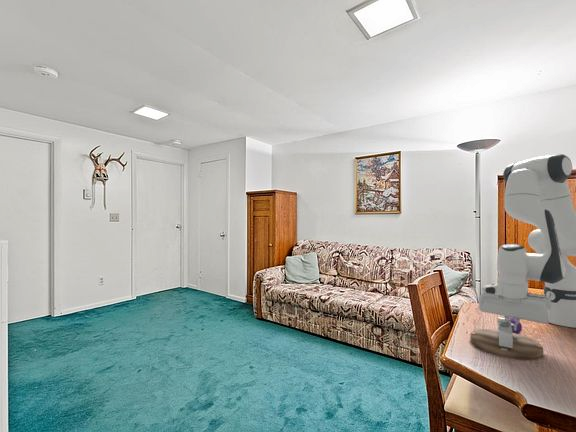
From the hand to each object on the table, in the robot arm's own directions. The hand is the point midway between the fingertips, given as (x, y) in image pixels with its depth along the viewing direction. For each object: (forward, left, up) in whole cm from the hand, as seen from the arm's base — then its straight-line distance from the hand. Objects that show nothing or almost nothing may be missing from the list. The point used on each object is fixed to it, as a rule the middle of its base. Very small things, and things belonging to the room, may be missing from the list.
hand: (512, 329), depth 107 cm
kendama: (-11, -11, -4) cm, 16 cm away
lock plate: (+6, +3, -4) cm, 8 cm away
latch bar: (+6, +3, -1) cm, 7 cm away
